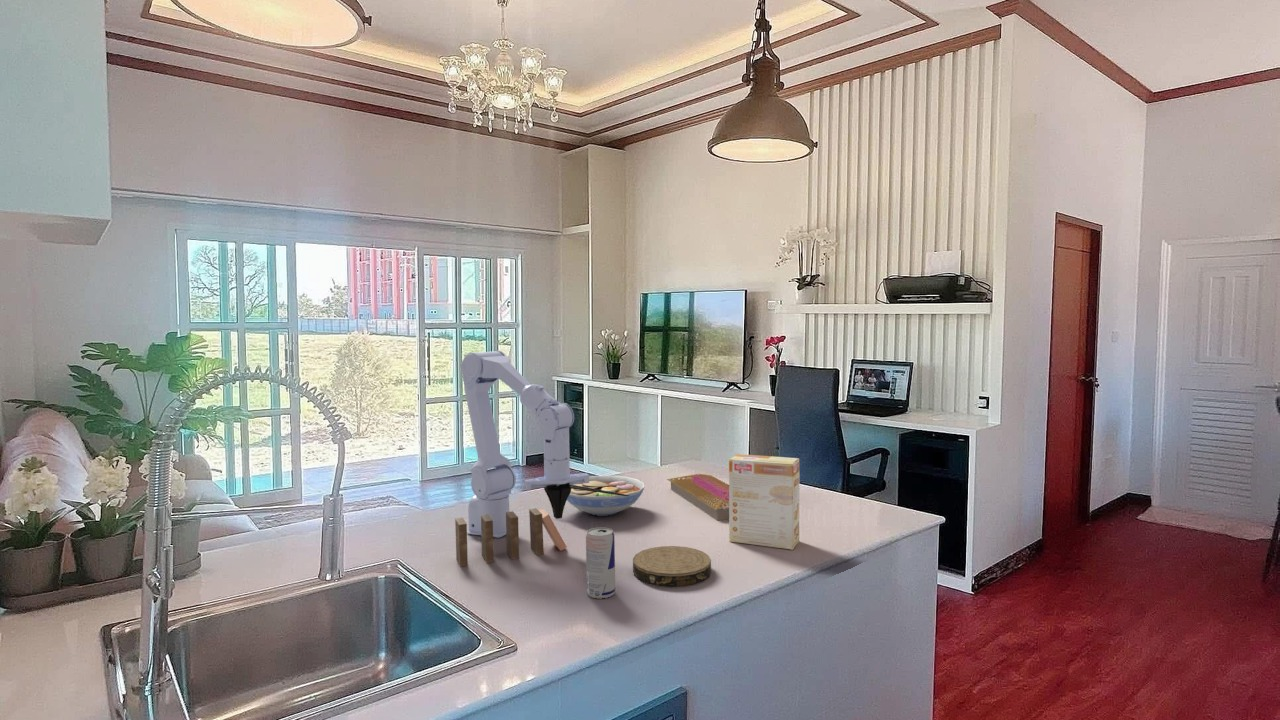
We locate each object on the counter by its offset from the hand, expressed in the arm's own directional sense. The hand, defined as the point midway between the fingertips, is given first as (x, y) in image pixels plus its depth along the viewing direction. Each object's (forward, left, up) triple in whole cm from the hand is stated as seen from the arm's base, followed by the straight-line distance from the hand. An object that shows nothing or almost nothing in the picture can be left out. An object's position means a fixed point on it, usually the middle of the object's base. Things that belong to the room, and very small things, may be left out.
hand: (557, 517), depth 156 cm
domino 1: (-15, -15, -7) cm, 23 cm away
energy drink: (+20, -20, -7) cm, 29 cm away
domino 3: (-7, -7, -7) cm, 13 cm away
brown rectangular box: (+23, +49, -8) cm, 54 cm away
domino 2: (-11, -11, -7) cm, 17 cm away
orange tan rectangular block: (0, 0, -7) cm, 7 cm away
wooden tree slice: (+29, -5, -8) cm, 30 cm away
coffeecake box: (+43, +20, -7) cm, 48 cm away
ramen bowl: (-2, +29, -7) cm, 30 cm away
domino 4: (-3, -4, -7) cm, 9 cm away
